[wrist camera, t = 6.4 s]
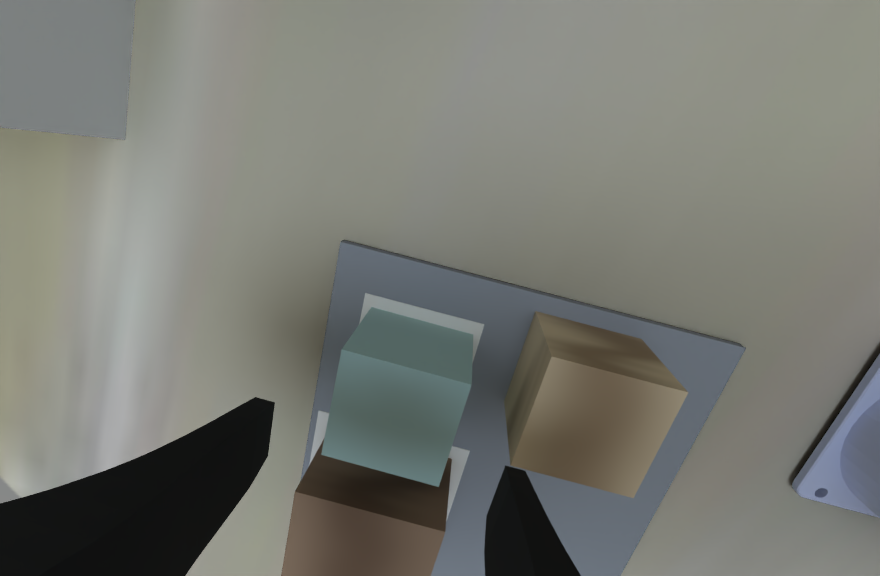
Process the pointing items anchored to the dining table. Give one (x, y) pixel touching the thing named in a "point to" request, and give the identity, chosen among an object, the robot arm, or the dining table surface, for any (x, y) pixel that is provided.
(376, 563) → the walnut base
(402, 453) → the teal block
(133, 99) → the dining table surface
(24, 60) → the milk
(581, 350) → the oak block
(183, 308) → the dining table surface
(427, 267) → the blueprint mat
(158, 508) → the robot arm
